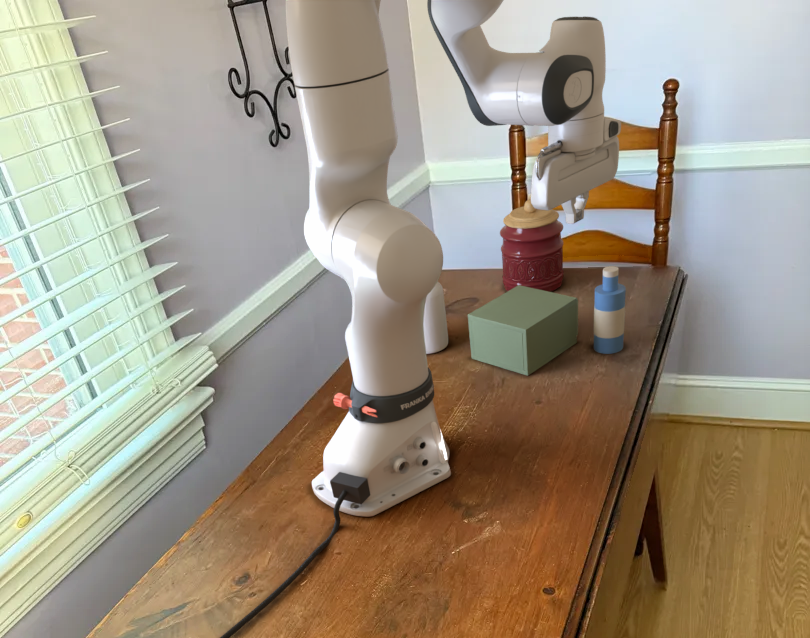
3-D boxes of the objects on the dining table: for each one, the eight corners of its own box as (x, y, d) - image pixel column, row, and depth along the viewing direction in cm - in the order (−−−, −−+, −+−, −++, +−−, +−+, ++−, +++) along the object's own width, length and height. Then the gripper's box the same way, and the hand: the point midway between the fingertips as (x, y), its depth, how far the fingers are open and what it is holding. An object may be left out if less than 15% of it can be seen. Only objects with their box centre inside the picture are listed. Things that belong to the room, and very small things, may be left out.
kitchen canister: (521, 270, 176) (517, 188, 165) (574, 276, 170) (574, 191, 159) (491, 293, 169) (486, 208, 158) (546, 300, 162) (544, 212, 151)
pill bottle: (456, 339, 154) (448, 263, 144) (436, 357, 149) (426, 280, 139) (422, 334, 157) (412, 260, 148) (400, 352, 152) (389, 277, 143)
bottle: (612, 356, 140) (615, 277, 131) (587, 349, 143) (588, 271, 134) (629, 344, 142) (633, 265, 133) (604, 338, 146) (606, 261, 136)
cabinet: (520, 328, 154) (518, 284, 148) (576, 342, 146) (577, 297, 140) (471, 358, 146) (467, 314, 141) (527, 375, 138) (525, 329, 133)
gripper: (552, 152, 120) (553, 243, 129) (627, 119, 130) (623, 206, 139) (520, 149, 124) (522, 238, 132) (594, 117, 134) (592, 202, 143)
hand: (574, 221), depth 136 cm, fingers closed
